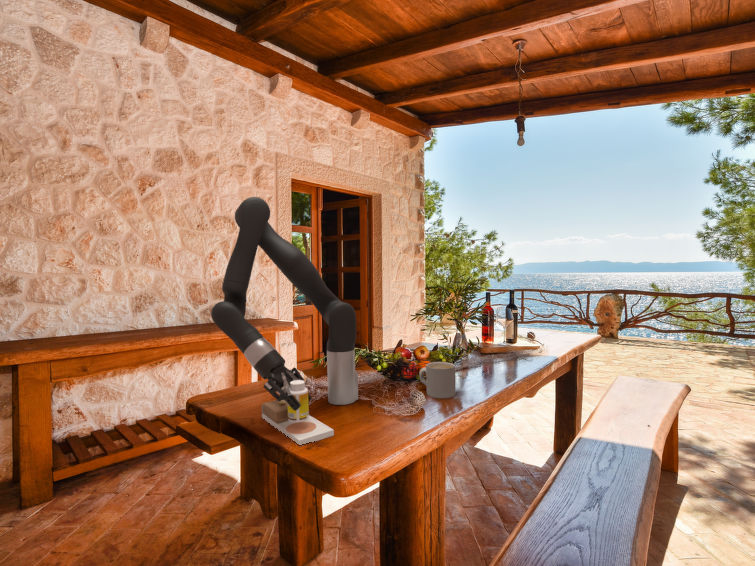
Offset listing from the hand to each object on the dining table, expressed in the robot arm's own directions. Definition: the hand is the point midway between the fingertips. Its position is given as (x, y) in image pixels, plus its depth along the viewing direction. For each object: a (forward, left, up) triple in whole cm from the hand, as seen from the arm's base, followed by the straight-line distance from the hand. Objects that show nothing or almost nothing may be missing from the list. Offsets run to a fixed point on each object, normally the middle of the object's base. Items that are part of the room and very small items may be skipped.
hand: (303, 404), depth 106 cm
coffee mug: (-52, -1, -8) cm, 53 cm away
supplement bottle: (+1, -1, -4) cm, 5 cm away
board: (0, -6, -8) cm, 10 cm away
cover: (+1, -13, -6) cm, 14 cm away
